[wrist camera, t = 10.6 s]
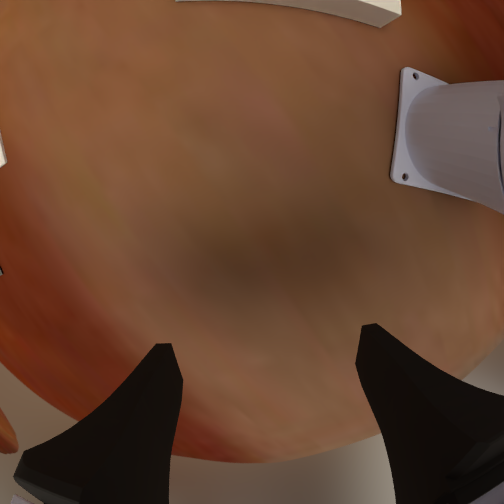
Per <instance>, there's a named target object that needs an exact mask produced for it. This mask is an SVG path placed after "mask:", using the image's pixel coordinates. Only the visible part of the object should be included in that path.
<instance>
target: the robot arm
mask: <svg viewBox="0 0 504 504" xmlns="http://www.w3.org/2000/svg"><path fill="white" fill-rule="evenodd" d="M413 74H415V76H416V80H415V79H414V78H413ZM404 173H405V175H406V177H405V179H404V180H403V179H402V175H403V174H404ZM390 177H391V179H392V180H393V181H394V182H396V183H400V184H405V185H409V186H414V187H419V188H423V189H428V190H432V191H436V192H440V193H444V194H448V195H452V196H456V197H460V198H464V199H468V200H471V201H475V202H478V203H480V204H482V205H485V206H487V207H489V208H491V209H493V210H496V211H498V212H500V213H502V214H504V80H497V81H479V82H467V83H457V84H448V83H446V82H444V81H441V80H439V79H437V78H435V77H432V76H430V75H428V74H425V73H423V72H420V71H418V70H415V69H413V68H410V67H405V68H403V69H402V70H401V79H400V95H399V108H398V119H397V128H396V137H395V145H394V152H393V159H392V166H391V173H390ZM355 364H356V368H357V372H358V375H359V379H360V382H361V385H362V388H363V390H364V392H365V395H366V397H367V399H368V402H369V404H370V406H371V409H372V411H373V413H374V416H375V418H376V420H377V423H378V425H379V427H380V430H381V433H382V436H383V439H384V443H385V446H386V450H387V454H388V458H389V463H390V467H391V472H392V478H393V483H394V490H395V497H396V504H504V396H503V395H499V394H495V393H492V392H489V391H485V390H483V389H480V388H477V387H475V386H473V385H470V384H468V383H465V382H463V381H461V380H459V379H457V378H455V377H453V376H451V375H449V374H448V373H446V372H444V371H442V370H440V369H439V368H437V367H435V366H434V365H432V364H431V363H429V362H428V361H426V360H425V359H423V358H422V357H420V356H419V355H418V354H416V353H415V352H413V351H412V350H411V349H409V348H408V347H407V346H405V345H404V344H403V343H401V342H400V341H399V340H398V339H396V338H395V337H394V336H392V335H391V334H390V333H389V332H387V331H386V330H385V329H383V328H382V327H381V326H379V325H378V324H377V323H374V324H369V325H363V326H362V328H361V334H360V340H359V346H358V352H357V357H356V362H355ZM182 390H183V378H182V375H181V372H180V369H179V366H178V363H177V360H176V357H175V354H174V351H173V348H172V344H171V343H163V344H155V346H154V347H153V348H152V349H151V350H150V351H149V353H148V354H147V355H146V356H145V357H144V359H143V360H142V361H141V362H140V363H139V365H138V366H137V367H136V368H135V369H134V371H133V372H132V373H131V374H130V375H129V376H128V377H127V379H126V380H125V381H124V382H123V383H122V384H121V385H120V386H119V387H118V388H117V389H116V390H115V391H114V392H113V393H112V395H111V396H110V397H109V398H107V399H106V400H105V401H104V402H103V403H102V404H101V405H100V406H99V407H97V408H96V409H95V410H94V411H93V412H92V413H90V414H89V415H88V416H86V417H85V418H84V419H82V420H81V421H79V422H78V423H77V424H75V425H74V426H72V427H71V428H69V429H68V430H66V431H65V432H63V433H61V434H60V435H58V436H56V437H54V438H52V439H50V440H48V441H46V442H44V443H42V444H40V445H37V446H35V447H33V448H30V449H28V450H25V451H24V452H23V455H22V457H21V459H20V461H19V464H18V466H17V469H16V471H15V473H14V476H13V477H14V480H15V481H16V482H17V483H18V484H19V485H20V486H21V487H22V488H24V489H25V490H26V491H28V492H29V493H30V494H32V495H33V496H35V497H36V498H37V499H39V500H40V501H42V502H43V503H44V504H169V472H170V458H171V451H172V445H173V440H174V436H175V431H176V426H177V421H178V417H179V412H180V407H181V401H182ZM11 504H34V503H32V502H29V501H28V500H26V499H24V498H22V497H20V496H18V495H16V494H14V495H13V498H12V501H11Z"/></svg>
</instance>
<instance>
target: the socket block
mask: <svg viewBox="0 0 504 504" xmlns="http://www.w3.org/2000/svg"><path fill="white" fill-rule="evenodd" d="M175 1H176V2H179V1H242V2H256V3H266V4H275V5H283V6H290V7H296V8H302V9H308V10H313V11H318V12H323V13H327V14H332V15H336V16H340V17H344V18H348V19H352V20H355V21H359V22H362V23H365V24H369V25H372V26H375V27H378V28H381V27H383V26H385V25H386V24H388V23H389V22H391V21H393V20H394V19H396V18H397V17H399V16H401V0H175Z"/></svg>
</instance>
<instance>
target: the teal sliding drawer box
mask: <svg viewBox="0 0 504 504" xmlns="http://www.w3.org/2000/svg"><path fill="white" fill-rule="evenodd" d="M6 163H7V158H6V154H5V150H4V146H3V141H2V137H1V132H0V168H1V167H2V166H3V165H5V164H6ZM0 275H3V274H2V272H1V270H0Z"/></svg>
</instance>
